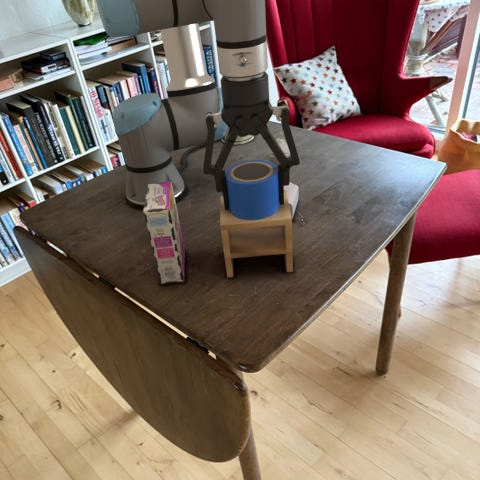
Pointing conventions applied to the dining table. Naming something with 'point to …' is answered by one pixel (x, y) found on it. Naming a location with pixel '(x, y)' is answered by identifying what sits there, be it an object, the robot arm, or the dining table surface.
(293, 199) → the charger
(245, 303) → the dining table surface
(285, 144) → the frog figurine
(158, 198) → the candy bar box
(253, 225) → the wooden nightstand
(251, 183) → the tape roll
